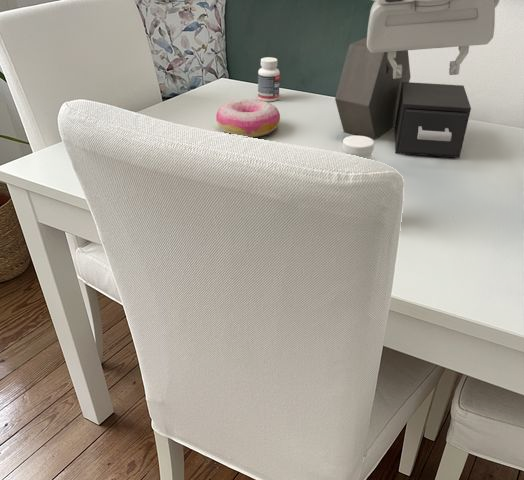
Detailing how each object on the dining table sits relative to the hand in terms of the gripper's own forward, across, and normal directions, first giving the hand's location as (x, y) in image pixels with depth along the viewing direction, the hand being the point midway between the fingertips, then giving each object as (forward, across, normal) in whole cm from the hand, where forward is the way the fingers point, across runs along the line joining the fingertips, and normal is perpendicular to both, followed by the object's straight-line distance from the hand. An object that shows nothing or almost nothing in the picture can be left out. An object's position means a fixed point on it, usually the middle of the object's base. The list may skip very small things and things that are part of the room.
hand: (425, 75), depth 98 cm
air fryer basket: (+17, -2, -10) cm, 19 cm away
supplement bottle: (+14, +12, +23) cm, 30 cm away
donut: (+14, +35, -15) cm, 41 cm away
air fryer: (+18, -2, -14) cm, 23 cm away
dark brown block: (+17, +9, -19) cm, 27 cm away
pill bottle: (+15, +34, -37) cm, 52 cm away
